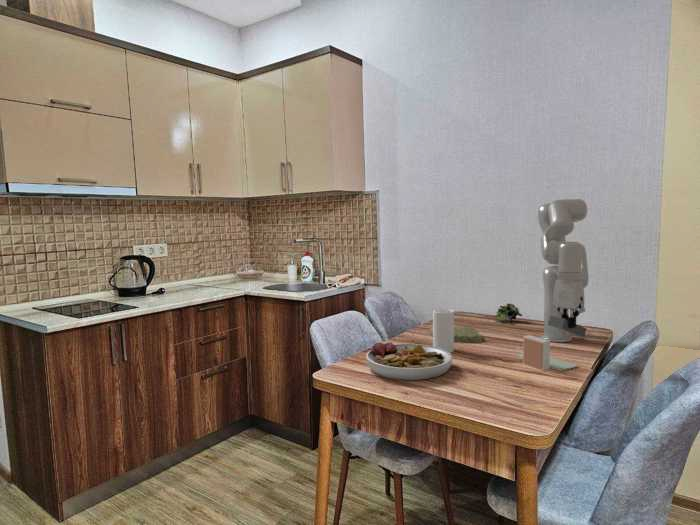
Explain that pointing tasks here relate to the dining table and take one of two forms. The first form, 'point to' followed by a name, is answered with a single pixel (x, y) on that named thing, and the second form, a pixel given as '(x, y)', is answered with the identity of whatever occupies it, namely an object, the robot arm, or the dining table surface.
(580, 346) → the dining table surface
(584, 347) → the dining table surface
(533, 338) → the tile
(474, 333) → the decorative tile
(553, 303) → the robot arm
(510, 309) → the green leafy plant
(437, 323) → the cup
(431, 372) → the bowl
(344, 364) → the dining table surface
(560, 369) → the mat
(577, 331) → the grey t-shaped block
